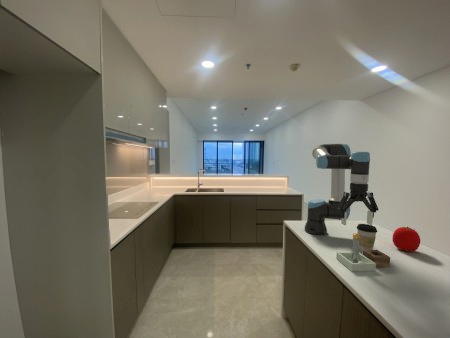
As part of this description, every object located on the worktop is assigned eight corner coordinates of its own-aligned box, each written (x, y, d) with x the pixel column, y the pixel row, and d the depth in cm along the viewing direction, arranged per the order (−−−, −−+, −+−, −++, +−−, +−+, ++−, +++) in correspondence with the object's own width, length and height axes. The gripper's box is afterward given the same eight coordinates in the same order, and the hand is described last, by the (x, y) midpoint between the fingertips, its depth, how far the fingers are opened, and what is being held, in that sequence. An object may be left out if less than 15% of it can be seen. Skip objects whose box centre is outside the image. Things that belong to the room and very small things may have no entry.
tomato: (395, 251, 116) (396, 227, 115) (389, 243, 126) (390, 222, 125) (424, 256, 110) (425, 231, 109) (415, 248, 121) (416, 225, 120)
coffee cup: (379, 256, 110) (381, 229, 109) (360, 254, 112) (361, 228, 111) (370, 248, 119) (371, 224, 118) (352, 246, 121) (353, 222, 120)
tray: (336, 258, 107) (336, 252, 107) (357, 258, 108) (357, 251, 107) (351, 271, 95) (352, 264, 95) (375, 270, 96) (375, 263, 95)
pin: (350, 261, 102) (351, 233, 102) (355, 261, 103) (357, 233, 102) (354, 264, 100) (355, 235, 99) (359, 264, 100) (361, 235, 99)
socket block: (362, 259, 107) (362, 250, 106) (376, 258, 107) (377, 249, 107) (374, 267, 99) (375, 257, 98) (389, 266, 99) (390, 257, 99)
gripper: (339, 184, 94) (337, 227, 96) (389, 183, 96) (386, 226, 97) (330, 181, 102) (328, 222, 103) (376, 181, 103) (374, 221, 105)
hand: (356, 224), depth 100 cm, fingers open, 13 cm apart
